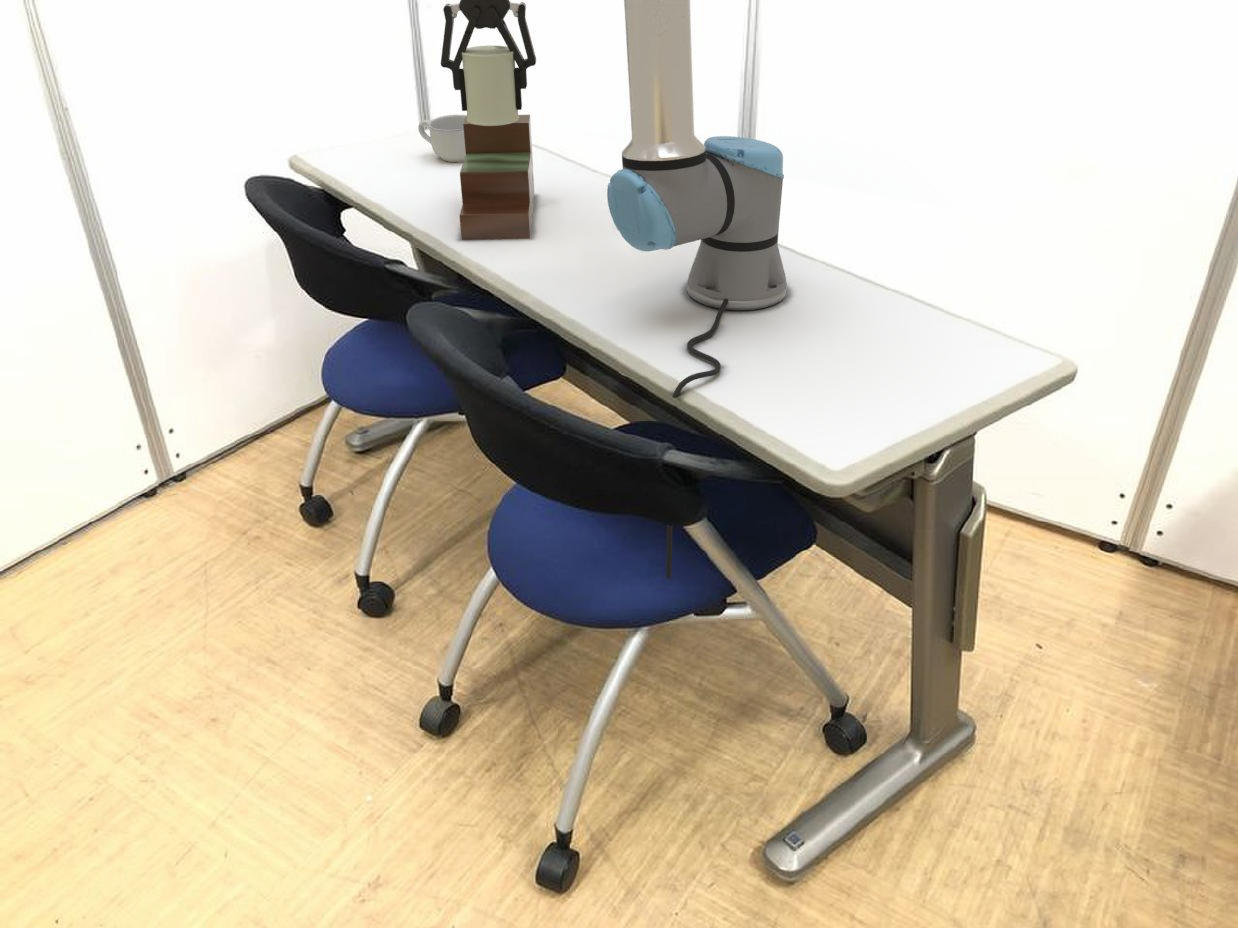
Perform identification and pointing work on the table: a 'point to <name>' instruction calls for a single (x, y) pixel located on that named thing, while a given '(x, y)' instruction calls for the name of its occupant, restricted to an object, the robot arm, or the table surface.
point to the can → (490, 85)
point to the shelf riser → (497, 181)
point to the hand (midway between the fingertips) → (492, 108)
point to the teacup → (446, 137)
